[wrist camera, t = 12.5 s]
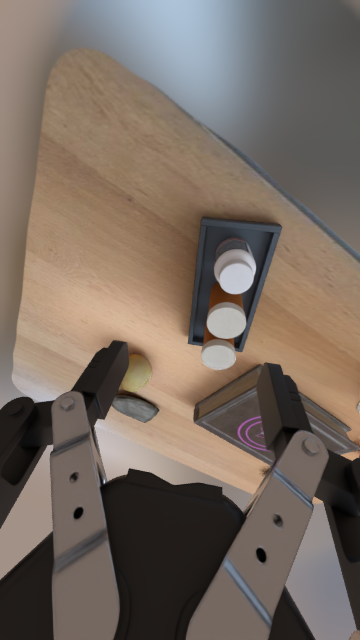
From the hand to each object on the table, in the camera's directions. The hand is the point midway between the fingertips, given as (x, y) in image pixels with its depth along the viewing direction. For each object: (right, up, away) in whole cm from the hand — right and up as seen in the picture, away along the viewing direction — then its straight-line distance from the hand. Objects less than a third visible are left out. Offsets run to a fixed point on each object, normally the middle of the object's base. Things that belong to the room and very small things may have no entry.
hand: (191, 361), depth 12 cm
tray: (+7, +7, +24) cm, 26 cm away
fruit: (-10, -7, +37) cm, 39 cm away
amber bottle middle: (+7, +7, +23) cm, 25 cm away
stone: (-13, -22, +48) cm, 54 cm away
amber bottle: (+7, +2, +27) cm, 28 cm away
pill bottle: (+7, +12, +20) cm, 24 cm away
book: (+22, -22, +41) cm, 52 cm away
